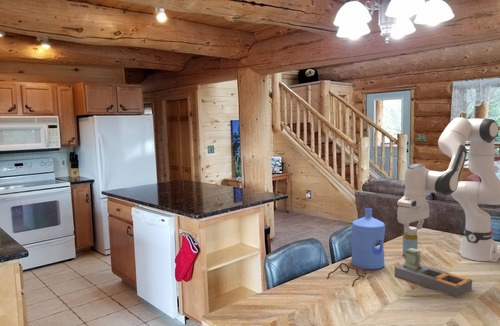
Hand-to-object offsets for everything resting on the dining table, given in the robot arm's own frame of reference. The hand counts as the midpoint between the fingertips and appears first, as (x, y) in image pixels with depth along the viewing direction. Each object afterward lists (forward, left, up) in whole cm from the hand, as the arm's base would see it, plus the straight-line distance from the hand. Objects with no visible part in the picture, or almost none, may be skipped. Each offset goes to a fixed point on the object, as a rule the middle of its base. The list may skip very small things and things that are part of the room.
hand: (413, 230), depth 174 cm
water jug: (+4, -22, -22) cm, 31 cm away
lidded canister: (-23, -16, -22) cm, 35 cm away
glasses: (+26, -17, -22) cm, 38 cm away
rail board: (0, +9, -21) cm, 23 cm away
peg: (0, 0, -21) cm, 21 cm away
